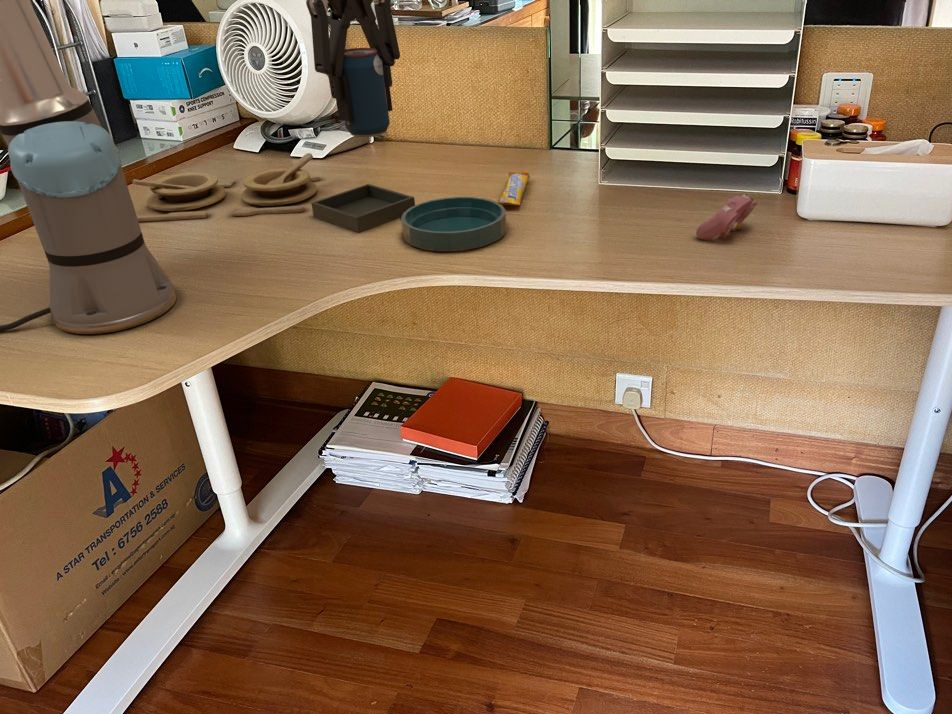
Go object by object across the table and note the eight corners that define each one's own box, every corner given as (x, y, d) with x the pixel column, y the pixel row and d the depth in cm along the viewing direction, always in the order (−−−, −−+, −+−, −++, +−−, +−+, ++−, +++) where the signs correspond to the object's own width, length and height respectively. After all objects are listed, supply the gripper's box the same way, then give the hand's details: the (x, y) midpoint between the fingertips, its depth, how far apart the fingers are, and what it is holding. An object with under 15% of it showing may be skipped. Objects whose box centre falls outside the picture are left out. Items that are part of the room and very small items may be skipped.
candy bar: (508, 180, 154) (508, 169, 153) (531, 180, 154) (530, 169, 153) (495, 211, 140) (494, 200, 139) (519, 211, 140) (519, 200, 139)
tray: (358, 232, 134) (356, 217, 133) (313, 217, 141) (310, 202, 140) (416, 211, 142) (414, 197, 140) (370, 197, 149) (368, 183, 147)
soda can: (399, 128, 133) (389, 48, 127) (372, 140, 128) (361, 56, 122) (364, 125, 136) (353, 45, 130) (337, 135, 131) (324, 53, 125)
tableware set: (132, 222, 142) (121, 188, 139) (167, 186, 158) (158, 154, 155) (309, 212, 143) (302, 178, 140) (325, 177, 160) (319, 145, 156)
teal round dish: (454, 261, 123) (452, 241, 121) (382, 237, 132) (379, 217, 130) (527, 229, 133) (527, 209, 131) (456, 208, 142) (454, 190, 140)
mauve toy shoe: (714, 253, 126) (737, 217, 121) (691, 235, 127) (713, 198, 122) (743, 233, 132) (767, 198, 127) (721, 216, 133) (743, 180, 128)
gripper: (298, -46, 110) (328, 132, 122) (413, -58, 122) (429, 105, 135) (267, -47, 114) (298, 124, 127) (380, -59, 127) (399, 99, 139)
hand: (366, 114), depth 131 cm, fingers closed on soda can, 7 cm apart
